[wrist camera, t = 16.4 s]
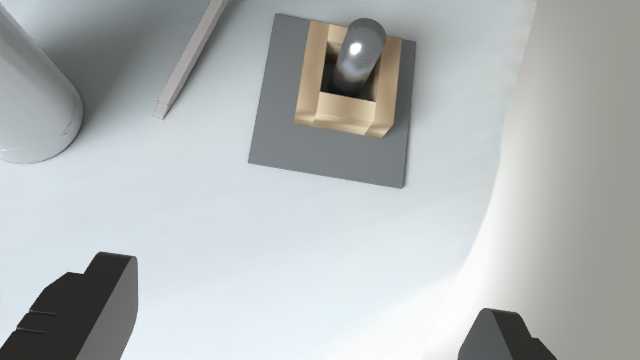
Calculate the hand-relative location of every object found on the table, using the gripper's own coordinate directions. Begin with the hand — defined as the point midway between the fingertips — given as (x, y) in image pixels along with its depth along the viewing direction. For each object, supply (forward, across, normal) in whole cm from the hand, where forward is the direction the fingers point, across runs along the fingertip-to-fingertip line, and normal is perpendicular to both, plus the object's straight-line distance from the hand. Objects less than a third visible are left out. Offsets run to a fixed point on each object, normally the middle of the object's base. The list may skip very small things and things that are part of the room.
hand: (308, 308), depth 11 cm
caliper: (+39, +10, +5) cm, 41 cm away
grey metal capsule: (+36, -4, +7) cm, 37 cm away
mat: (+36, -4, +8) cm, 37 cm away
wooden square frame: (+36, -4, +7) cm, 37 cm away
